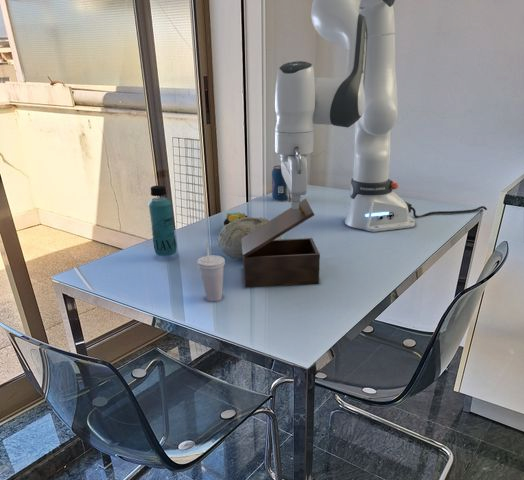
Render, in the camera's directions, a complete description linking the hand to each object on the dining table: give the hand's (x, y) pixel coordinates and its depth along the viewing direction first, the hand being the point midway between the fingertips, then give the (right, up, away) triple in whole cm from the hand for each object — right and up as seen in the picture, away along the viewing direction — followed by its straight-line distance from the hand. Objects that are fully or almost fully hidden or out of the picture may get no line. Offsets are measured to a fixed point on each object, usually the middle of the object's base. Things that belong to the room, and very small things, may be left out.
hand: (293, 204), depth 122 cm
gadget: (-16, +4, +43) cm, 46 cm away
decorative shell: (-11, -8, +23) cm, 27 cm away
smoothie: (-19, -23, -1) cm, 30 cm away
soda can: (0, +23, +73) cm, 76 cm away
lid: (-4, -5, +3) cm, 7 cm away
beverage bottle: (-35, -9, +23) cm, 43 cm away
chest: (-3, -16, +10) cm, 19 cm away
